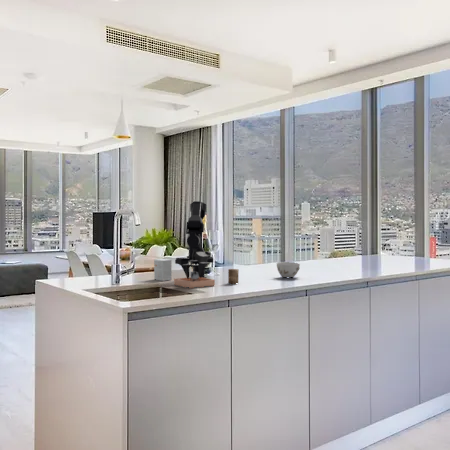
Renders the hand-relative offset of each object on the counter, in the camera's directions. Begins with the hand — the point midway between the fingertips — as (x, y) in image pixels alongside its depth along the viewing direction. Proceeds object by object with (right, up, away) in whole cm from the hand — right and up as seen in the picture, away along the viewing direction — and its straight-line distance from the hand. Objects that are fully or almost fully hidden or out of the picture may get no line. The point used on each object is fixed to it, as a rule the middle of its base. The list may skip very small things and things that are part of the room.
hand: (194, 278), depth 249 cm
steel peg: (0, -3, 0) cm, 3 cm away
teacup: (+50, -3, +34) cm, 60 cm away
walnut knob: (+19, -4, +8) cm, 21 cm away
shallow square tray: (0, -4, 0) cm, 4 cm away
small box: (-17, -3, +19) cm, 26 cm away
